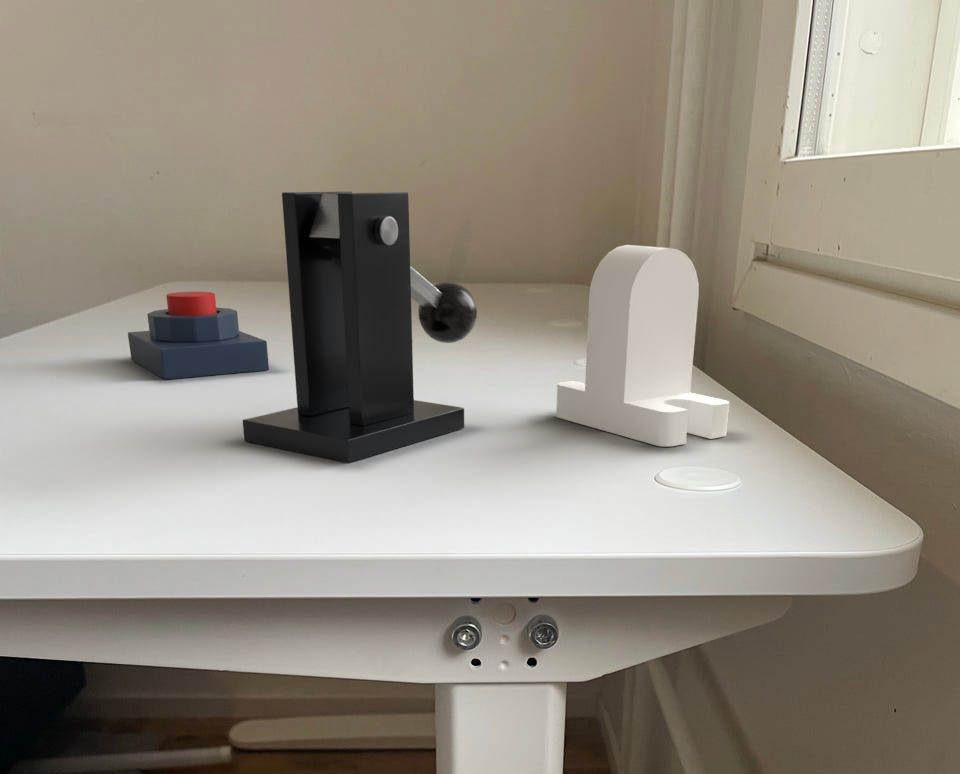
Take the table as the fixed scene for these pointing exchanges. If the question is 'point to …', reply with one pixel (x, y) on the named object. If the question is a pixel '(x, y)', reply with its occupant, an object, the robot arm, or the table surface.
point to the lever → (440, 305)
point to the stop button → (191, 303)
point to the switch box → (197, 345)
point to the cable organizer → (642, 352)
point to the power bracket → (351, 335)
